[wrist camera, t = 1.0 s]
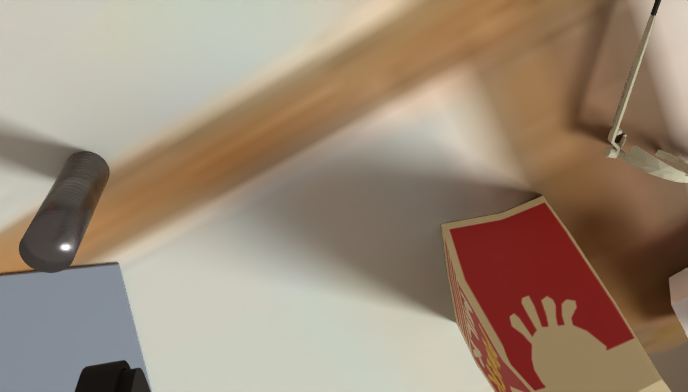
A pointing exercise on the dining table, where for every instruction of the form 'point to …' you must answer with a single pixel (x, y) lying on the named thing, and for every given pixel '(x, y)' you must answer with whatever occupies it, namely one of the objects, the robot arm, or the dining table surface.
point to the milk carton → (539, 307)
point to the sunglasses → (636, 154)
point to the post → (65, 214)
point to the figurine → (680, 296)
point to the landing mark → (63, 327)
